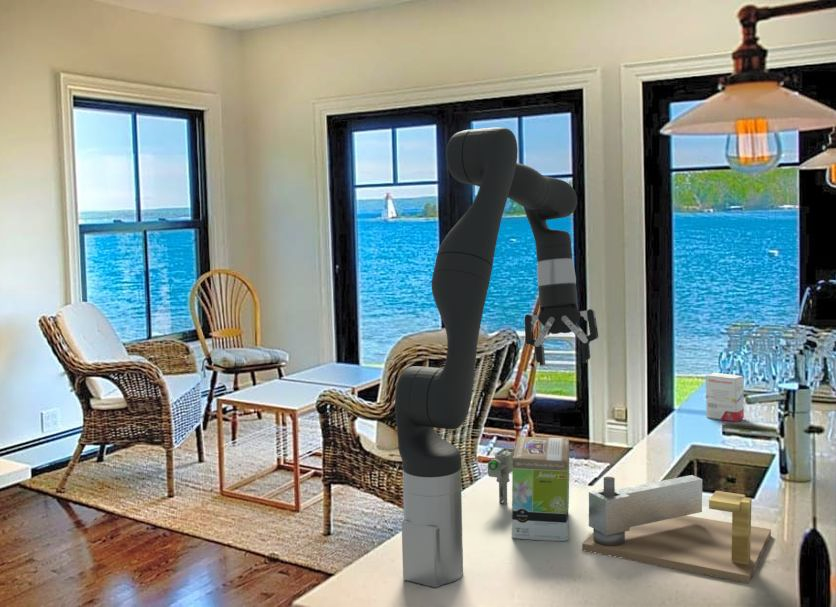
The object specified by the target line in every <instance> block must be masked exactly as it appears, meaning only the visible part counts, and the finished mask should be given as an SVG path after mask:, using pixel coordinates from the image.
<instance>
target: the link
mask: <svg viewBox="0 0 836 607" xmlns="http://www.w3.org/2000/svg"><path fill="white" fill-rule="evenodd" d="M699 513H703V478H700V477H699V476H695V475H693V474H691V475H685V476H679V477H674V478H671V479H670V478H668V479H665V480H660V481H653V482H649V483H648V482H647V483H642V484H638V485H633V486H627V487H622V488H615V496H614V497H609V498H607V497H605V496H604V488H603V489H597V490H596V489H595V490H592V491H588V526H589V527H590V528H592V529H595V530H597V531H599V532H601V533H602V534H604V535H611V534H616V533H620V532H625V531H630V527H634V526H639V525H643V524H648V523H653V522H657V521H662V520H667V519H672V518H676V517H681V516H686V515H687V516H691V515H694V514H699Z"/></svg>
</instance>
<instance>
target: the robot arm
mask: <svg viewBox="0 0 836 607" xmlns="http://www.w3.org/2000/svg"><path fill="white" fill-rule="evenodd" d="M517 141H518V140H517V138H516V135H515V134H514V132H513V131H512V130H510V129H509V128H507V127H502V126H501V127H499V126H498V127H496V126H495V127H486V128H485V127H484V128H477V129H476V128H474V129H466V130H465V129H464V130H462V131H458V132H455V133H454V134H453V135H452V136H451V137H450V138H449V140H448V143H447V146H446V151H445V152H446V153H445V158H446V166H447V168H448V170H449V171H448V172H449V173H450V175H451V176H452V177H453V179H455V181H458V182H459V183H462V184H466V185H467V184H468V185H471V186H476V187H479V189H478V191H477V194H476V196H475V198H474V200H473V202H472V203H471V205H470V206H469V208H468V209H467V211H466V212H465V213H464V214H463V215H462V216H461V217H460V219H459V220H458V221H457V222H456V223H455V225H454V226H453V227H452V228H451V229H450V230H449V231H448V233H447V234H446V236H445V237H444V238H443V240H442V241H441V244H440V246H439V247H438V250H437V254H436V258H435V263H434V264H435V265H434V267H433V268H434V269H433V273H432V277H431V292H432V297H433V299H434V302H435V306H436V308H437V311H438V313H439V315H440V318H441V321H442V323H443V325H444V329H445V333H446V334H445V335H446V340H447V341H446V342H447V343H446V344H447V349H446V356H445V357H446V358H445V363H444V366H443V368H442V367H432V366H419V365H418V366H417V365H416V366H415V365H414V366H413V365H411V366H409V367H407V368H405V369H404V370H403V371H402V372H401V374H399V377H398V379H397V383H396V387H395V394H394V408H395V421H396V422H395V423H396V432H397V445H398V447H397V448H398V453H399V456H400V458H401V463H402V494H403V495H402V498H403V500H402V501H403V521H402V522H401V545H402V546H401V547H402V548H401V549H402V550H401V551H402V580H404V581H408V582H411V583H416V584H420V585H424V586H428V587H433V588H438V587H439V586H441V585H446V584H450V583H453V582H455V581H457V580H459V579H460V578H462V576H464V574H463V573H464V553H463V552H464V551H463V550H464V549H463V547H464V546H463V508H462V507H463V506H462V500H463V499H462V497H463V496H462V455H461V452H460V450H459V449H458V448H457V447H456V446H455V445H453V444H452V443H450V442H448V441H447V440H446V439H444V438H442V437H441V436H440V435H439V434H438V432H436V430H435V429H436V428H437V429H441V430H442V429H444V430H456V429H458V428H460V427H461V426H462V425H463V424H464V422H465V420H467V416H468V413H469V411H470V406H471V401H472V396H473V394H472V393H473V388H474V378H475V370H476V369H475V368H476V359H477V358H476V357H477V352H478V351H477V350H478V343H479V342H478V341H479V335H480V329H481V326H482V325H481V324H482V319H483V314H484V308H485V303H486V299H487V294H488V291H489V287H490V280H491V277H492V270H493V268H494V267H493V266H494V258H495V251H496V248H497V243H498V242H497V241H498V238H499V237H498V236H499V232H500V227H501V222H502V218H503V214H504V211H505V207H506V204H507V201H508V199H510V200H511V201H513V202H515V203H516V204H518V205H520V206H522V207H523V210H524V213H525V215H526V217H527V221H528V223H529V225H530V228H531V232H532V234H533V238H534V243H535V250H536V262H537V264H536V265H537V266H536V276H537V277H536V278H537V289H538V290H537V291H538V300H539V314H534V315H532V314H526V315H525V316H524V337H525V338H524V341H525V343H526V344H527V345H530V346H533V347H534V350H535V360H536V363H538V364H539V366H545V365H546V357H545V347H544V346H543V345H544V343H545V342H546V340H547V338H549V335H550V334H552V335H558V334H561V333H562V334H570V333H573V334H574V336H576V337H577V338H578V339H579V340H580V341H581V344H580V348H581V351H580V352H581V361H582V363H583V364H587V363H588V360H589V361H590V359H591V349H590V348H591V347H590V344H591V342H592V341H595V340H597V339H599V330H598V323H597V317H596V312H595V309H591V308H590V309H588V310H581V309H580V308H579V304H578V303H579V302H578V294H577V292H578V291H577V276H576V271H575V265H574V261H573V250H572V239H571V235H570V233H569V232H568V231H566V230H560V229H551V228H550V227H549V226H548V224H547V221H551V220H557V219H563V218H568V217H570V216H571V215H572V214H573V213H574V212H575V210H576V208H577V205H578V196H577V193H576V190H575V189H574V188H573V186H572V185H571V184H569V183H568V182H567V181H565V180H563V179H559V178H556V177H555V178H554V177H552V176H545V175H543V174H542V173H540V172H539V171H537V170H536V169H534V168H533V167H531V166H528V165H526V164H524V163H523V164H522V163H519V162H518V152H519V151H518V142H517ZM581 317H583V318H584V319H583V320H585V321H587V322H588V328H589V329H588V330H589V334H586V333H585V332H584V331H583V329H582V328H581V327H580V326H579V325H578V323H579V321H580V319H581ZM538 321H539V322H540V323H541V325H542V326H543V328H542V329H541V331H540V333H539V335H538V337H536V338H534V337H535V335H534V333H535V332H534V331H535V330H534V326H536V324H537V322H538Z"/></svg>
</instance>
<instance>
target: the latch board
mask: <svg viewBox="0 0 836 607" xmlns="http://www.w3.org/2000/svg"><path fill="white" fill-rule="evenodd" d="M615 480H616V479H615V477H613V476H604V477H603V489H604V496H605V497H607V498H609V497H614V496H615V489H616V488H615V485H616V484H615ZM752 500H753V499H752V497H746V494H741V493H733V492H728V491H727V492H726V491H722V490H715V491H714V492H713V494H712V495H711V497H710V498H709V500H708V509H709V510H713V511H714V510H715V511H722V512H728V513H731V517H732V518H731V519H732V520H731V522H729V521H723V520H716V519H710V518H705V517H704V518H703V517H699V516H698V517H696V516H692V515H686V516H681V517H676V518H672V519H667V520H662V521H657V522H653V523H648V524H643V525H639V526H634V527H630V531H625V532H620V533H616V534H611V535H604V534H602V533H601V532H599V531H597V530H595V529H593V528H592V529H593V532H592V533H591V534H590V535H589V536H588V537H587V538H586V539H585V540H583V542H582V544H581V551H583V550H586V551H585V552H588V551H592V552H591V553H593V552H596V553H595V554H598V553H601V554H600V555H603V554H605V555H604V556H608V555H611V556H610V557H613V556H616V557H615V558H618V557H622V558H621V559H623V558H625V559H624V560H628V559H629V561H634V562H639V563H645V564H649V565H654V566H660V567H665V568H671V569H675V570H680V571H684V572H690V573H695V574H700V575H704V574H706V575H705V576H709V575H710V577H713V578H714V577H716V578H720V579H724V578H725V580H730V581H735V582H741V583H745V584H750V581H751V579H752V577H753V576H754V575H753V574H754V573H753V572H755V571H756V569H755V568H757V567H758V564H759V562H760V560H761V558H762V556H763V554H762V553H764V552H765V549H766V547H767V545H768V543H769V541H770V538H771V534H772V533H771V532H772V529H770V528H765V527H758V526H753V525H752ZM763 551H764V552H763ZM761 555H762V556H761ZM760 557H761V558H760ZM759 559H760V560H759ZM758 561H759V562H758ZM756 566H757V567H756ZM754 570H755V571H754Z"/></svg>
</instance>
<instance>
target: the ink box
mask: <svg viewBox="0 0 836 607" xmlns="http://www.w3.org/2000/svg"><path fill="white" fill-rule="evenodd" d="M744 388H745V387H744V375H738V374H737V375H736V374H729V373H728V374H727V373H722V372H713V373H709V374H706V375H705V400H706V401H705V402H706V404H705V406H706V408H705V409H706V411H705V412H706V418H707V419H714V420H722V421H729V422H734V423H735V422H736V423H737V422H739V421H741V420H743V419H744V418H745V414H744V413H745V412H744V409H745V408H744V405H745V404H744Z"/></svg>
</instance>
